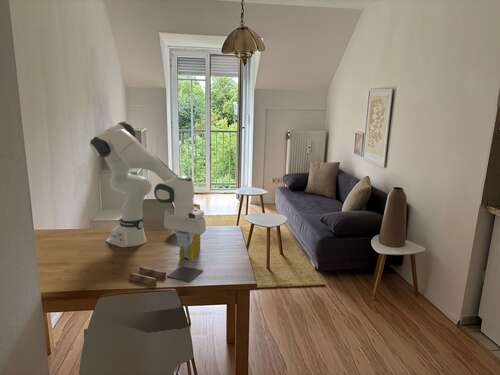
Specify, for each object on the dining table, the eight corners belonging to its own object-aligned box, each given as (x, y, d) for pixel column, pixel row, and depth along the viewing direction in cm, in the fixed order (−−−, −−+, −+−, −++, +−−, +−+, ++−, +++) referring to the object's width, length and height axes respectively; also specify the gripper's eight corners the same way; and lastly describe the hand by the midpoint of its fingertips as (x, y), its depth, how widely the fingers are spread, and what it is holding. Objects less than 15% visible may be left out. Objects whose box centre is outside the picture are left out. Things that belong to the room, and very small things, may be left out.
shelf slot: (129, 279, 169) (129, 273, 168) (140, 272, 176) (140, 266, 175) (155, 285, 163) (155, 279, 163) (165, 277, 171) (165, 271, 170)
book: (191, 260, 190) (191, 213, 184) (179, 259, 191) (178, 212, 185) (202, 248, 206) (202, 204, 200) (191, 246, 207) (190, 203, 201)
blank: (177, 245, 170) (177, 233, 169) (183, 241, 174) (183, 229, 173) (185, 247, 168) (185, 234, 167) (191, 243, 173) (191, 231, 171)
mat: (167, 277, 172) (167, 276, 171) (181, 266, 182) (181, 265, 182) (189, 282, 167) (189, 281, 167) (203, 271, 178) (203, 270, 178)
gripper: (160, 210, 169) (161, 238, 172) (200, 216, 161) (200, 246, 164) (168, 206, 174) (169, 234, 178) (207, 212, 167) (207, 241, 170)
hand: (184, 240), depth 171 cm, fingers closed on blank, 4 cm apart
